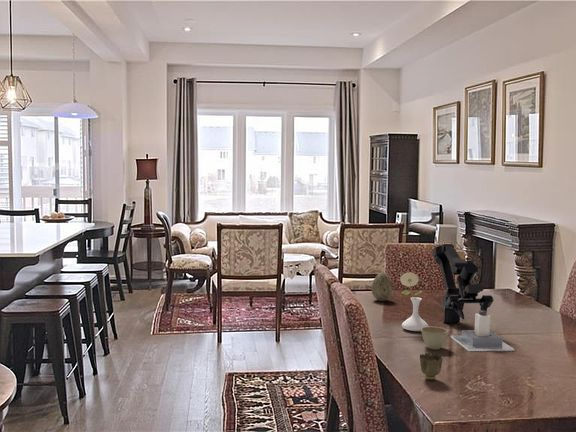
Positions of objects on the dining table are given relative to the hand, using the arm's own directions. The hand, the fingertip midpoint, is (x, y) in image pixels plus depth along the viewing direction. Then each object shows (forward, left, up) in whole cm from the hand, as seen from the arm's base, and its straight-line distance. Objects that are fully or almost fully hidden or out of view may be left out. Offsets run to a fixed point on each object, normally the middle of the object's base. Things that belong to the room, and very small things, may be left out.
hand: (474, 318), depth 260 cm
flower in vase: (-25, +4, -8) cm, 27 cm away
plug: (+3, -7, -7) cm, 11 cm away
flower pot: (-13, -20, -8) cm, 26 cm away
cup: (-9, -58, -8) cm, 60 cm away
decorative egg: (-50, +56, -8) cm, 76 cm away
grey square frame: (+3, -7, -8) cm, 11 cm away
